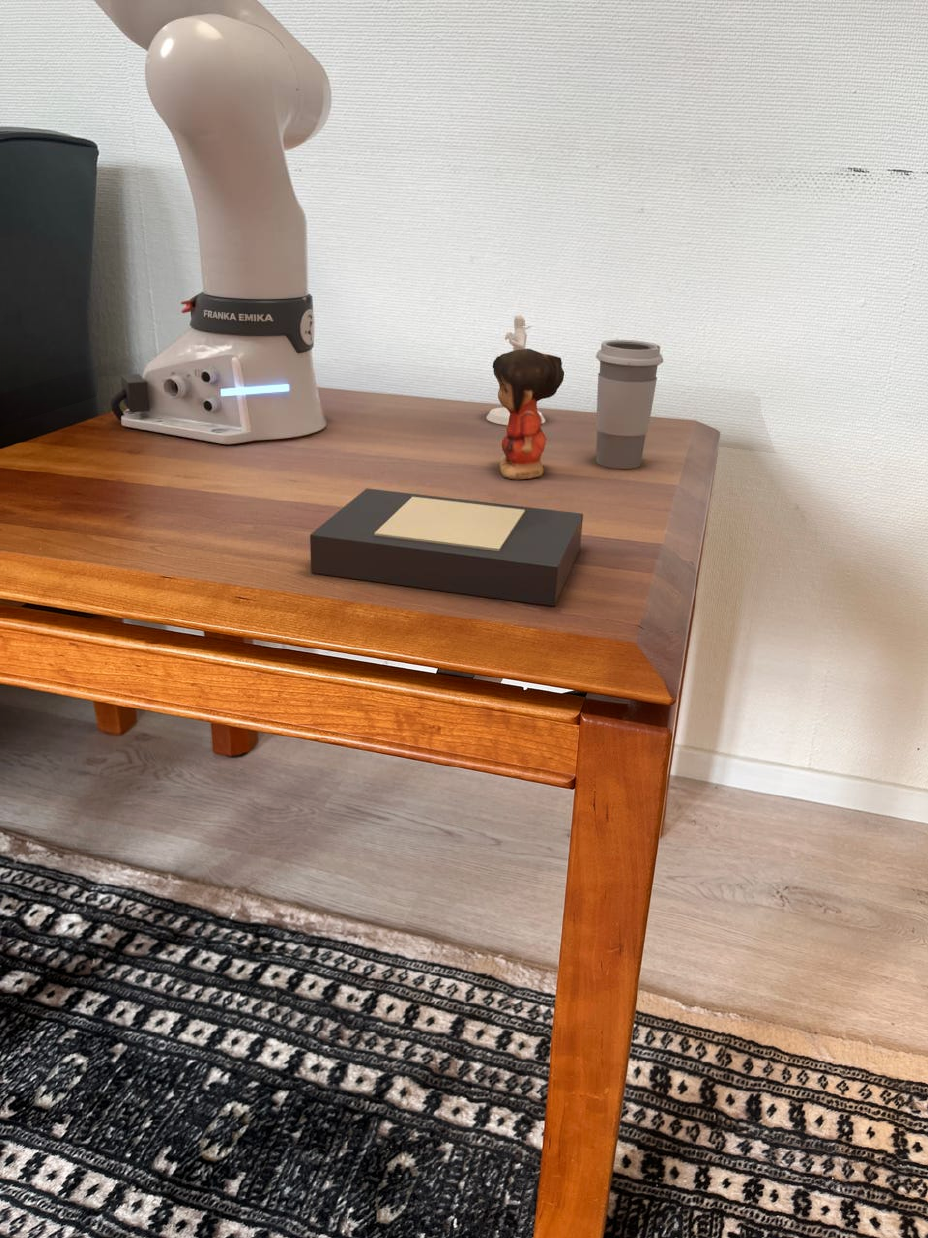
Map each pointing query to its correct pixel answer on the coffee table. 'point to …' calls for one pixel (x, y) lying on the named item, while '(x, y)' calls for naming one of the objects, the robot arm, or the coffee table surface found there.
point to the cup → (625, 400)
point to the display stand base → (450, 545)
